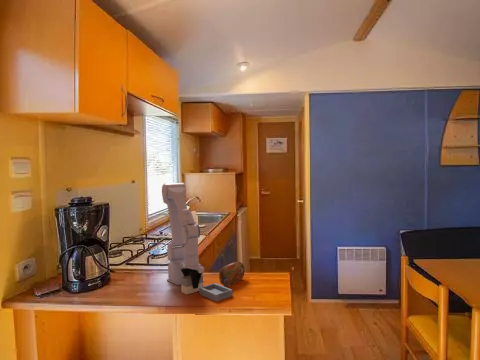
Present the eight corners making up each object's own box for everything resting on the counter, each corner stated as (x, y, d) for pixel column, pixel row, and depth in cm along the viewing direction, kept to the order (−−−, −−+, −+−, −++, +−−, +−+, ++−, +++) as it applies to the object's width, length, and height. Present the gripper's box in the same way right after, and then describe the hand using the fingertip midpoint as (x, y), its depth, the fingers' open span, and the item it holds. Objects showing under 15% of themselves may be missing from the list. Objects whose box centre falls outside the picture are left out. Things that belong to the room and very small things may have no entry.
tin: (223, 288, 145) (223, 268, 145) (218, 287, 147) (217, 267, 147) (245, 278, 157) (244, 260, 157) (239, 277, 159) (239, 259, 159)
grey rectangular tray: (199, 294, 139) (199, 287, 139) (215, 288, 145) (215, 283, 145) (216, 301, 131) (216, 295, 131) (232, 295, 136) (232, 289, 136)
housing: (181, 292, 142) (181, 277, 142) (197, 287, 147) (197, 273, 147) (186, 294, 139) (186, 279, 139) (203, 289, 144) (202, 275, 144)
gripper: (173, 252, 145) (174, 284, 146) (193, 258, 134) (194, 293, 135) (187, 249, 150) (188, 280, 151) (207, 255, 139) (208, 289, 140)
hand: (192, 286), depth 143 cm, fingers closed on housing, 4 cm apart
